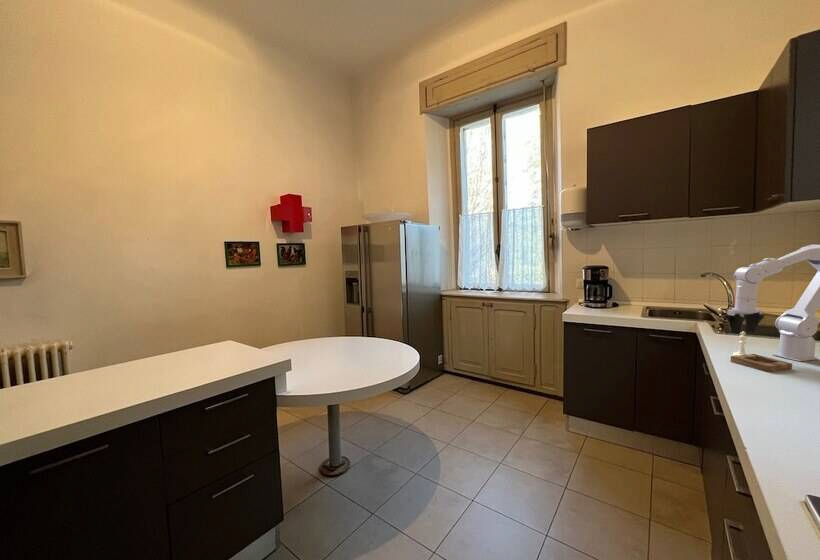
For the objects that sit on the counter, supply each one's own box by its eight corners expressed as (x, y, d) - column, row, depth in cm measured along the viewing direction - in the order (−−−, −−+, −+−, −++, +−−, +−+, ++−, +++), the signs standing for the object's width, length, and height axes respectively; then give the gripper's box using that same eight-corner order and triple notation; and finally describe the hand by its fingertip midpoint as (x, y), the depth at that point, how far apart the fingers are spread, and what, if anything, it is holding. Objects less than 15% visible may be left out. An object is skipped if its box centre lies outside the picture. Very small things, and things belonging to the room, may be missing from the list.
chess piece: (754, 358, 124) (756, 333, 123) (739, 358, 125) (740, 332, 124) (743, 354, 129) (745, 330, 128) (729, 354, 130) (730, 329, 129)
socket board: (753, 358, 124) (753, 353, 124) (791, 369, 113) (792, 363, 113) (730, 361, 122) (730, 356, 122) (767, 372, 111) (768, 366, 111)
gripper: (747, 296, 130) (744, 329, 132) (719, 297, 127) (716, 331, 129) (770, 298, 123) (767, 333, 125) (741, 300, 121) (738, 335, 122)
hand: (743, 332), depth 126 cm, fingers open, 7 cm apart
